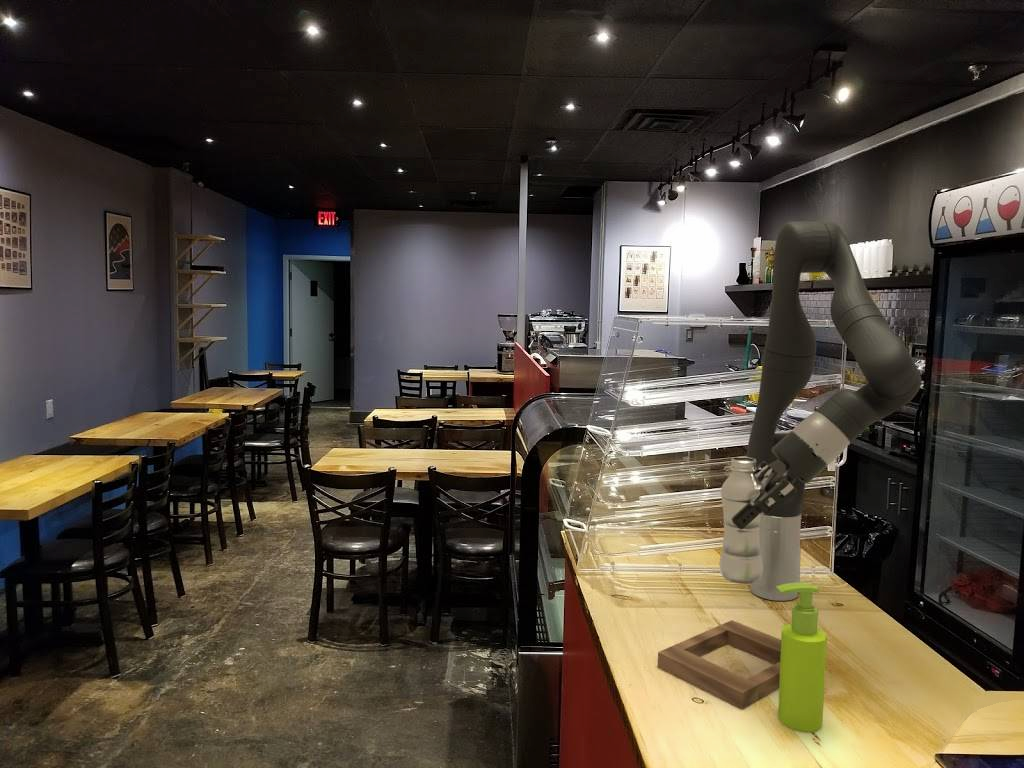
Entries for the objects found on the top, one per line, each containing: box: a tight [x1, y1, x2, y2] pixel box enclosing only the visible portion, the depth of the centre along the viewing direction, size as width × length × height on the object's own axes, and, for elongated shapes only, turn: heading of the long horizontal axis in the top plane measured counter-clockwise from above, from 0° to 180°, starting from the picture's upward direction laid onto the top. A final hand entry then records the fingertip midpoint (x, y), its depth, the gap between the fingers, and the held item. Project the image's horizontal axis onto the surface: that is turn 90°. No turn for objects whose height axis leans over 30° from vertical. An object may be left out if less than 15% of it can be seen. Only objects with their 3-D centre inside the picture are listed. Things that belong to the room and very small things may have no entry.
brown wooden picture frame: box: [657, 619, 781, 710], centre depth 118 cm, size 20×16×2 cm
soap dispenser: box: [776, 582, 828, 733], centre depth 102 cm, size 6×7×20 cm
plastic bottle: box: [718, 456, 763, 585], centre depth 116 cm, size 6×7×20 cm
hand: (731, 518), depth 116 cm, fingers closed on plastic bottle, 6 cm apart
